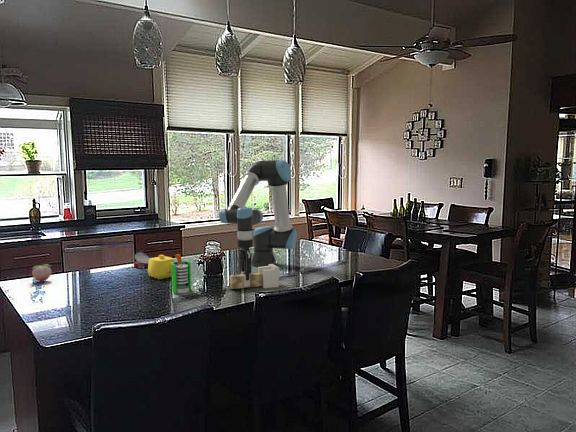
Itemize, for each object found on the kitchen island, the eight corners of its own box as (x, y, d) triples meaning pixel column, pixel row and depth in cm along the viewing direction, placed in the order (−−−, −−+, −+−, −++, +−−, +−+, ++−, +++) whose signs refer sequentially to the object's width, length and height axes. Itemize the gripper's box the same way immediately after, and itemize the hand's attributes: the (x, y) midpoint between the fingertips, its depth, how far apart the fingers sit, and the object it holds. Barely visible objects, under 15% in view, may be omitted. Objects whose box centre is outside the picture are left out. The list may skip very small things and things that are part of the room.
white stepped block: (258, 284, 246) (257, 265, 244) (273, 282, 249) (272, 263, 248) (264, 288, 237) (263, 269, 236) (279, 286, 240) (279, 267, 239)
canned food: (147, 272, 294) (154, 257, 295) (147, 274, 284) (155, 258, 286) (129, 265, 291) (137, 250, 292) (129, 266, 281) (137, 251, 283)
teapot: (182, 277, 261) (182, 256, 260) (163, 281, 253) (162, 259, 251) (163, 271, 275) (162, 251, 274) (143, 275, 267) (143, 254, 265)
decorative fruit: (48, 278, 260) (47, 260, 259) (54, 281, 254) (52, 262, 253) (29, 281, 254) (28, 263, 252) (34, 284, 248) (33, 265, 247)
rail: (231, 289, 234) (231, 277, 233) (229, 287, 237) (229, 275, 236) (270, 285, 241) (270, 273, 240) (267, 283, 244) (267, 271, 244)
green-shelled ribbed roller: (180, 294, 227) (178, 257, 225) (168, 292, 231) (166, 255, 229) (193, 290, 235) (192, 254, 233) (181, 288, 239) (180, 252, 237)
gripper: (233, 237, 242) (233, 282, 244) (242, 242, 226) (243, 290, 229) (247, 236, 245) (248, 280, 247) (257, 240, 229) (258, 288, 232)
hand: (245, 285), depth 238 cm, fingers closed on rail, 4 cm apart
